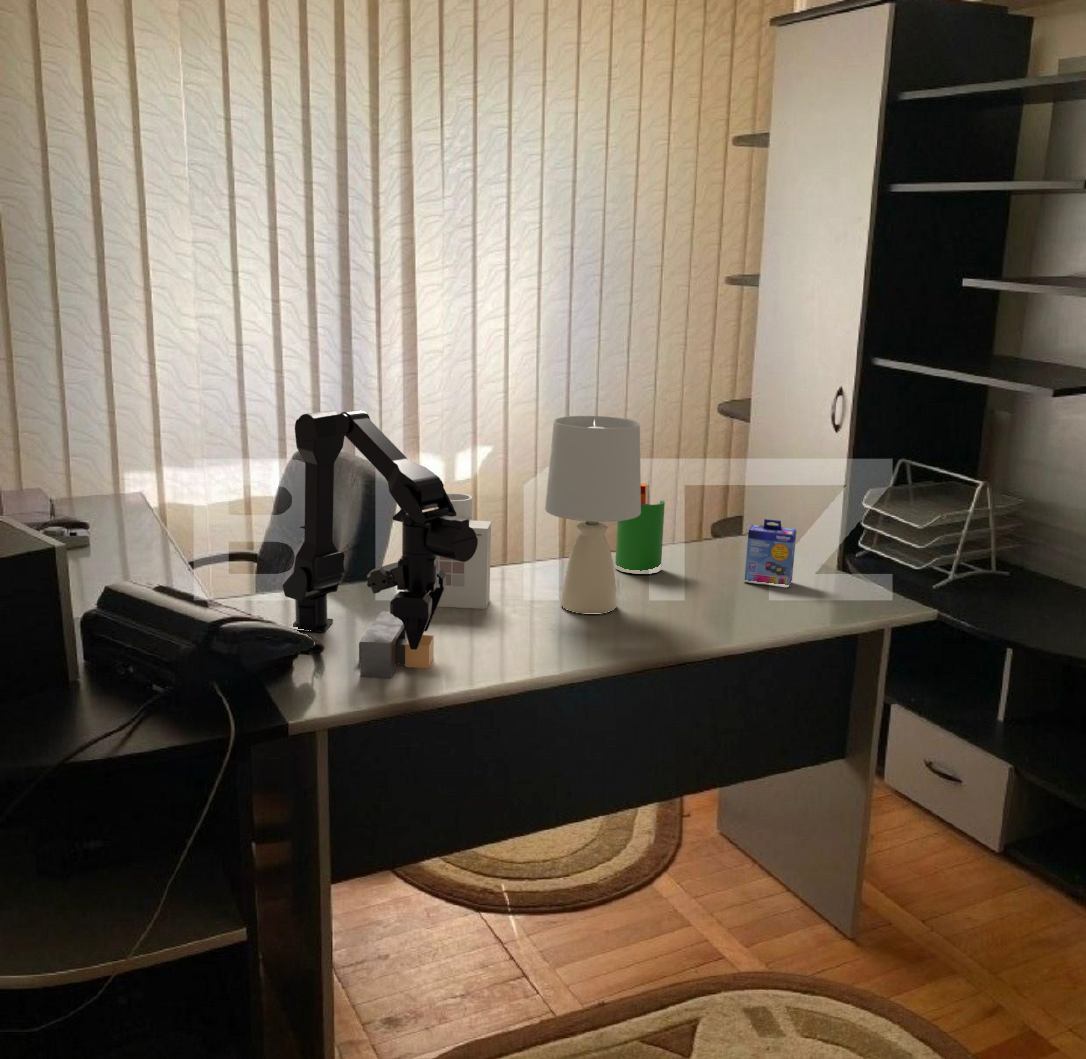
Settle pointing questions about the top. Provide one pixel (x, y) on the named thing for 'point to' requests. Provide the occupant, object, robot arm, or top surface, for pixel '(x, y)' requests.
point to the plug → (414, 652)
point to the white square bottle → (467, 564)
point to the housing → (381, 646)
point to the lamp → (593, 500)
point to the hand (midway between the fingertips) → (418, 639)
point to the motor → (641, 537)
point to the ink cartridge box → (770, 553)
